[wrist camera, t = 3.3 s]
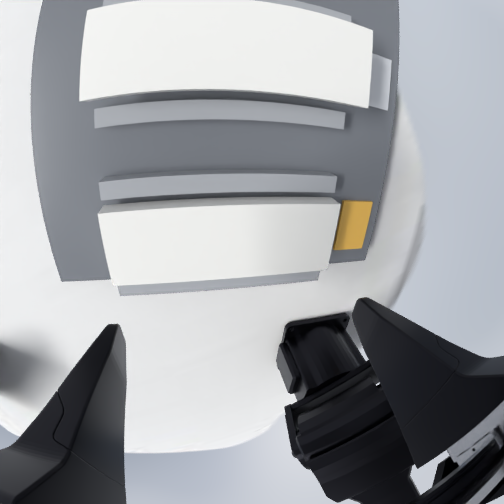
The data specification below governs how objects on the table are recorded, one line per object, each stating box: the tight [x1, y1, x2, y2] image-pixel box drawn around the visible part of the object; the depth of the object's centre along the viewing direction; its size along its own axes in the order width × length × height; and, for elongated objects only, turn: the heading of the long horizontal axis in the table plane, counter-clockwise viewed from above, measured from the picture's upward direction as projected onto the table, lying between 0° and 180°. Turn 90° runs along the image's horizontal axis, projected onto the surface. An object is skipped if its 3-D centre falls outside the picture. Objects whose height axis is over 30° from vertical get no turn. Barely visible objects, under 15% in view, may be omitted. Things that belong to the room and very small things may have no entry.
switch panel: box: [31, 0, 399, 296], centre depth 12 cm, size 22×27×2 cm
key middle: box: [79, 0, 373, 108], centre depth 9 cm, size 13×4×1 cm, turn 86°
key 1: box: [98, 197, 341, 286], centre depth 15 cm, size 13×4×1 cm, turn 86°
